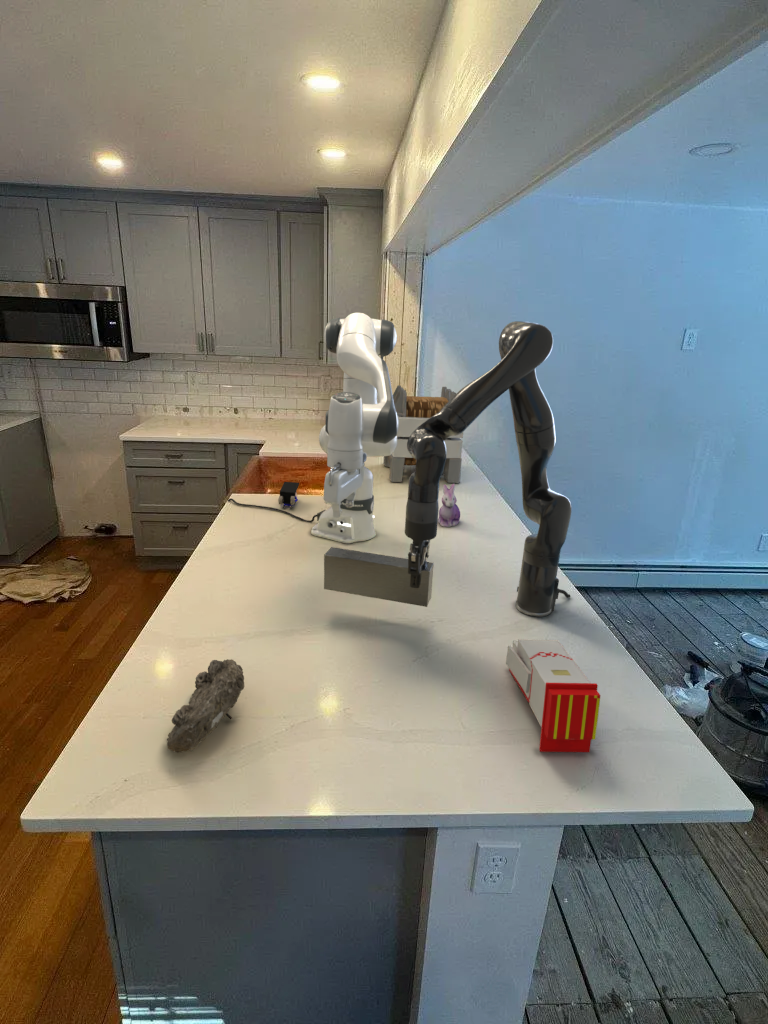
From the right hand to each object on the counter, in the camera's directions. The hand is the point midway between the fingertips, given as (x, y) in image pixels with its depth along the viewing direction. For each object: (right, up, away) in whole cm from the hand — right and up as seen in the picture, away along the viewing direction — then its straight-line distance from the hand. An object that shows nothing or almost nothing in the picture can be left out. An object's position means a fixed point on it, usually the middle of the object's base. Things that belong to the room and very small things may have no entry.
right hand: (417, 581), depth 137 cm
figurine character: (-45, +20, +86) cm, 100 cm away
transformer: (+9, +36, +138) cm, 143 cm away
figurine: (+16, +13, +75) cm, 77 cm away
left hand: (-18, +17, +9) cm, 27 cm away
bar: (-10, -3, +4) cm, 11 cm away
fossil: (-41, -22, -29) cm, 55 cm away
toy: (+24, -22, -21) cm, 39 cm away
